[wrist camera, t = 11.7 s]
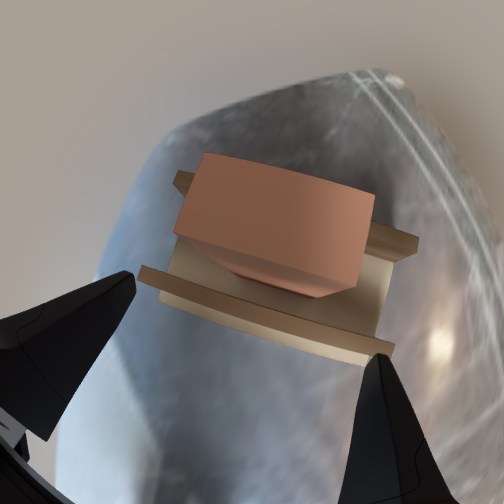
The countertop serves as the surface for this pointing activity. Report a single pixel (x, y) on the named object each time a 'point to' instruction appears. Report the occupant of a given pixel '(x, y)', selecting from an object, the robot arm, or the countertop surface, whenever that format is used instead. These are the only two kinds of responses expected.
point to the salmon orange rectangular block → (276, 225)
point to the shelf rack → (287, 297)
